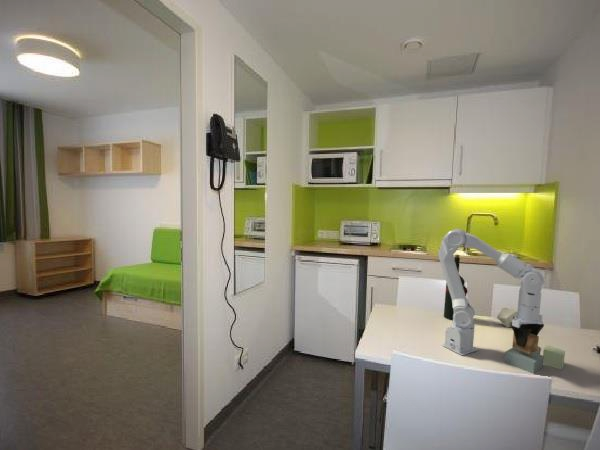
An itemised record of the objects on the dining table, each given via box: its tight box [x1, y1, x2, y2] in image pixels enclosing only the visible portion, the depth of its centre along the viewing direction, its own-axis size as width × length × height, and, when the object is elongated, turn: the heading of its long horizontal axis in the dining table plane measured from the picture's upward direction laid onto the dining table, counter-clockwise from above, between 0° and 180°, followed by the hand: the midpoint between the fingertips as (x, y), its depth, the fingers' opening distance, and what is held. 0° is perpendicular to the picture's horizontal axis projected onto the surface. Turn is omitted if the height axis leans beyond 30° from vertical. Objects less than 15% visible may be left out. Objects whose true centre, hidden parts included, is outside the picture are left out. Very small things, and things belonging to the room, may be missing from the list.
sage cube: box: [542, 344, 566, 370], centre depth 99 cm, size 5×5×5 cm
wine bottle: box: [443, 254, 468, 321], centre depth 136 cm, size 8×10×30 cm
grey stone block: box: [496, 306, 517, 328], centre depth 130 cm, size 8×9×10 cm
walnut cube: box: [511, 333, 540, 354], centre depth 98 cm, size 5×5×5 cm
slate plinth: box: [504, 347, 544, 374], centre depth 98 cm, size 8×8×4 cm
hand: (525, 344), depth 98 cm, fingers open, 5 cm apart
